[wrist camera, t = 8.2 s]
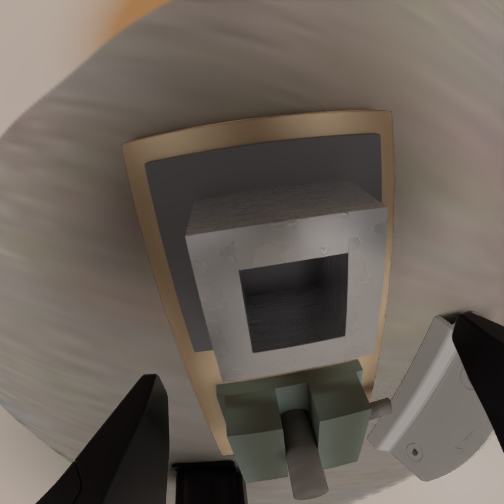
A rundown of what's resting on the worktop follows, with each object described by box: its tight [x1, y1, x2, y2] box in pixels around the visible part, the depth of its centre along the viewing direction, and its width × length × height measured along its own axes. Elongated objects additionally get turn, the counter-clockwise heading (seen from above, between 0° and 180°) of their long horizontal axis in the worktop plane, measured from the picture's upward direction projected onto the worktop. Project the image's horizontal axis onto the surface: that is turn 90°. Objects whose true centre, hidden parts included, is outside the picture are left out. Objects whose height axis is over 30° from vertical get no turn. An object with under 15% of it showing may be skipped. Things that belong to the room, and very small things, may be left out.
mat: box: [144, 133, 382, 352], centre depth 15 cm, size 10×10×1 cm
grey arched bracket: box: [367, 312, 495, 481], centre depth 21 cm, size 17×5×10 cm, turn 173°
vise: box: [121, 110, 394, 500], centre depth 15 cm, size 12×24×9 cm, turn 7°
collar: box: [185, 179, 388, 382], centre depth 13 cm, size 6×6×4 cm
